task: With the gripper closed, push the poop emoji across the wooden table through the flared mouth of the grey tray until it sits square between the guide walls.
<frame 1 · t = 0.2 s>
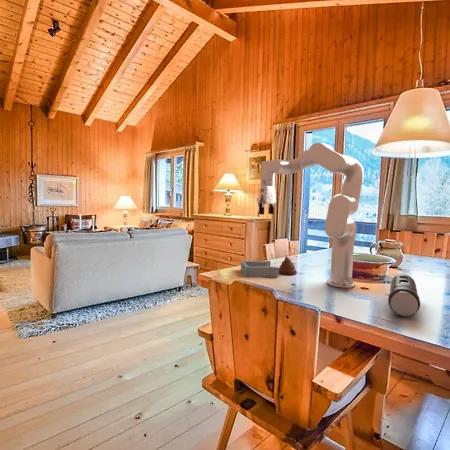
hand: (266, 214, 176), 31 cm above the table, tool pointing down, fingers open, 9 cm apart
muzzle brake: (402, 308, 118), on the table
grey tray: (255, 273, 166), on the table
poop emoji: (286, 273, 168), on the table
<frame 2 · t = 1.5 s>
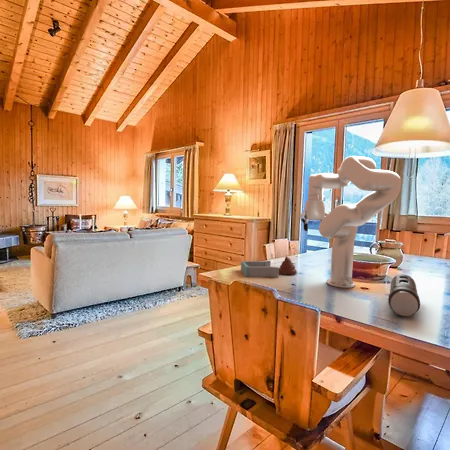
hand: (313, 230, 168), 23 cm above the table, tool pointing down, fingers open, 8 cm apart
nothing on the table moved.
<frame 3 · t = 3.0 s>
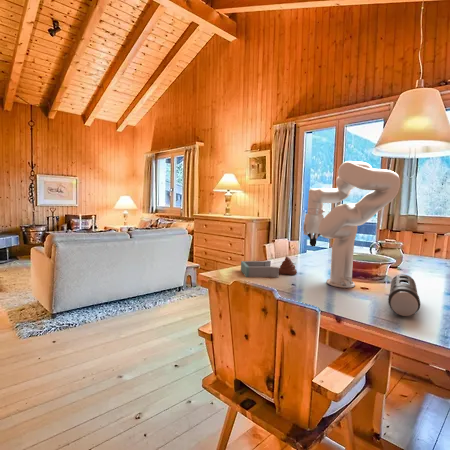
hand: (312, 245, 169), 15 cm above the table, tool pointing down, fingers closed
nothing on the table moved.
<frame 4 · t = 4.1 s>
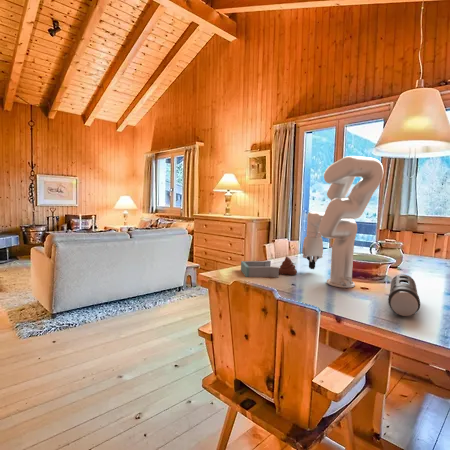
hand: (311, 268, 170), 2 cm above the table, tool pointing down, fingers closed
nothing on the table moved.
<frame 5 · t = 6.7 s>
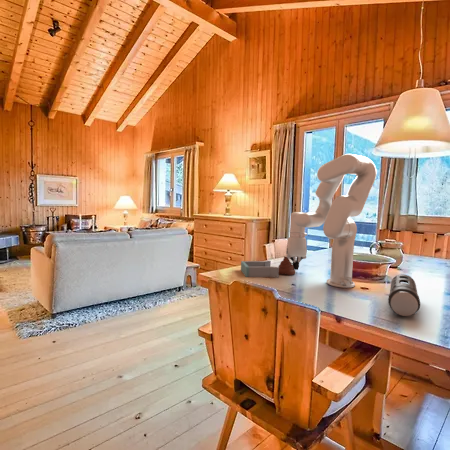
hand: (295, 269, 168), 2 cm above the table, tool pointing down, fingers closed
poop emoji: (285, 273, 167), on the table, touching gripper
everything else where it was.
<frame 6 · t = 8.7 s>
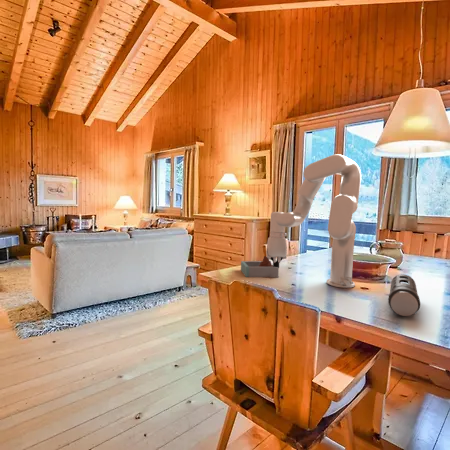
hand: (275, 269, 167), 2 cm above the table, tool pointing down, fingers closed
poop emoji: (265, 274, 166), on the table, touching gripper
everything else where it was.
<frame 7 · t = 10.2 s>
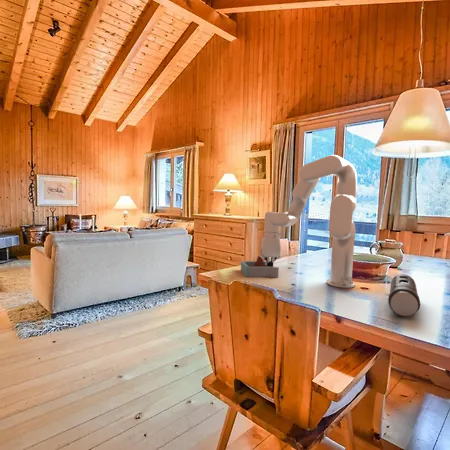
hand: (269, 269, 167), 2 cm above the table, tool pointing down, fingers closed
poop emoji: (259, 274, 165), on the table
everything else where it was.
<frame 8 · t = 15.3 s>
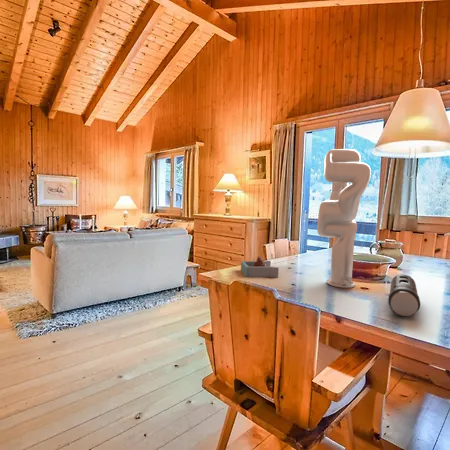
hand: (338, 223, 172), 27 cm above the table, tool pointing down, fingers closed
nothing on the table moved.
at the end: poop emoji inside the target area on the grey tray (2.1 cm from its centre), point 0.0 cm above the grey tray's base; poop emoji tilted 0° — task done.
